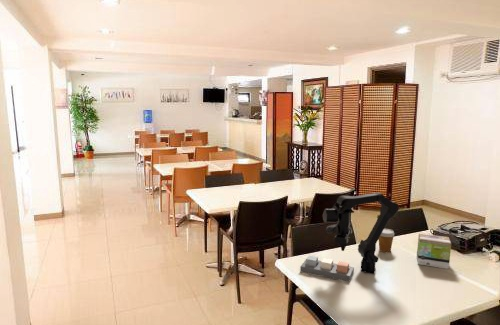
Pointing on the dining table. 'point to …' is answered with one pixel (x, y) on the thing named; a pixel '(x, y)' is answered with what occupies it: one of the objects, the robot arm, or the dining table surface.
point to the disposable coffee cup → (386, 240)
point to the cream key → (327, 264)
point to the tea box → (433, 251)
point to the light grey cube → (312, 261)
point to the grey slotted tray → (327, 271)
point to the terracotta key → (343, 267)
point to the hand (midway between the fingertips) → (342, 250)
